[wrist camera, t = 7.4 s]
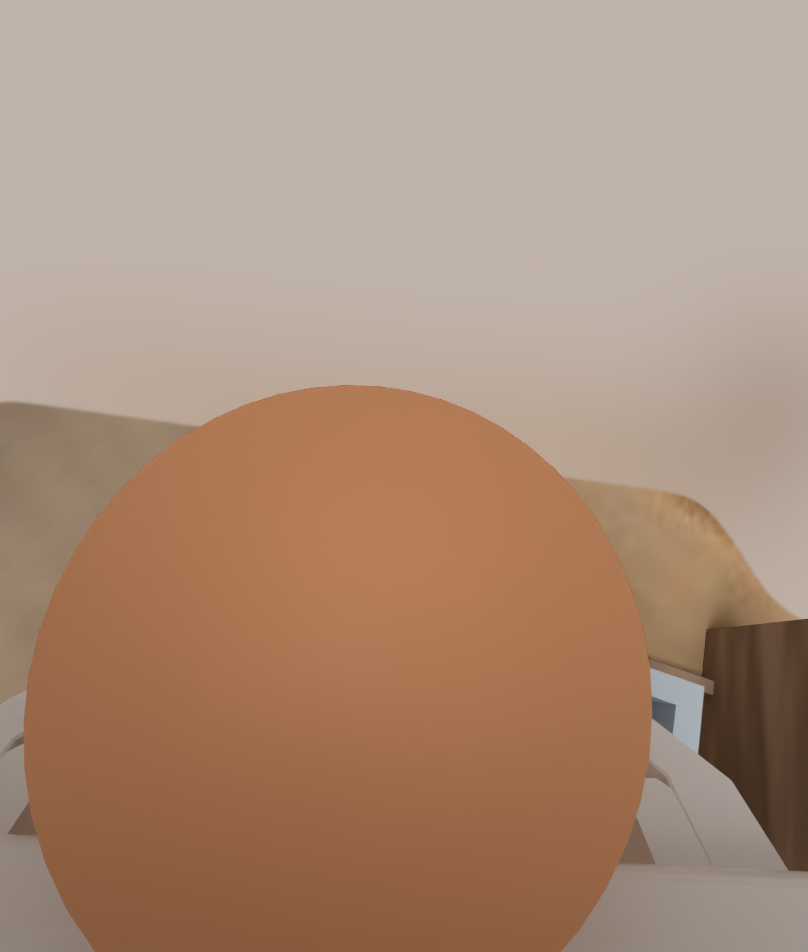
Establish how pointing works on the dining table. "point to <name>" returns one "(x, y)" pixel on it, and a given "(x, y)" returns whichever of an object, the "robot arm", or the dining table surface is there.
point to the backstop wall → (760, 724)
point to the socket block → (677, 706)
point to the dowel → (339, 691)
